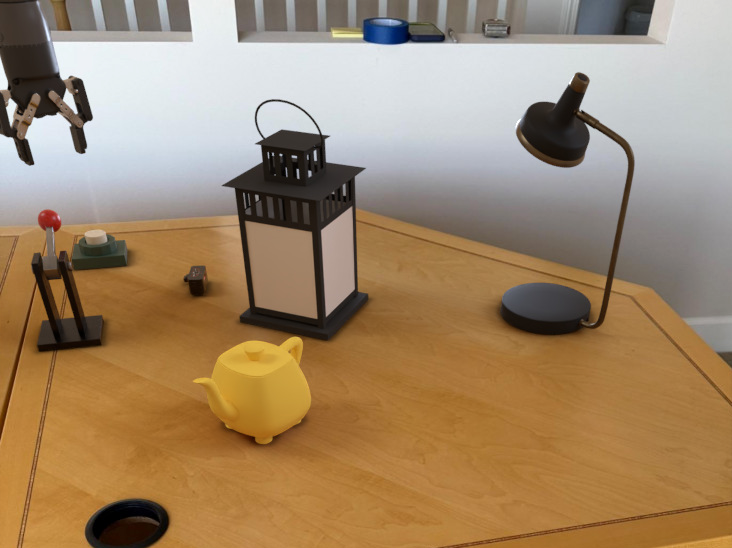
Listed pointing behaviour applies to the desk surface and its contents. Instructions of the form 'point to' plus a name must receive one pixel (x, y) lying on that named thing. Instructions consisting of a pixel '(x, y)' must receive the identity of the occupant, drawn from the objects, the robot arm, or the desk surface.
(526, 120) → the lamp
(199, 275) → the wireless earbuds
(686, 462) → the desk surface
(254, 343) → the teapot
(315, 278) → the lantern
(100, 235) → the button
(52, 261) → the switch lever
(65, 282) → the switch bracket
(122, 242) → the lamp box
